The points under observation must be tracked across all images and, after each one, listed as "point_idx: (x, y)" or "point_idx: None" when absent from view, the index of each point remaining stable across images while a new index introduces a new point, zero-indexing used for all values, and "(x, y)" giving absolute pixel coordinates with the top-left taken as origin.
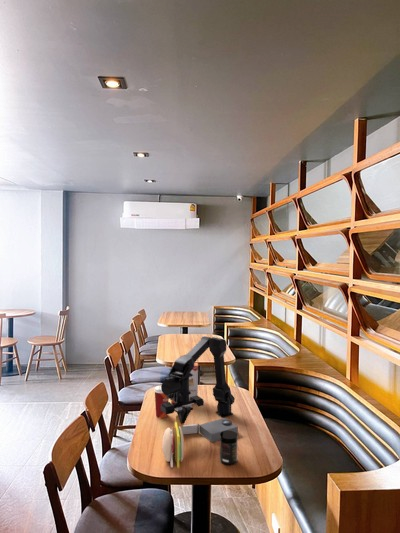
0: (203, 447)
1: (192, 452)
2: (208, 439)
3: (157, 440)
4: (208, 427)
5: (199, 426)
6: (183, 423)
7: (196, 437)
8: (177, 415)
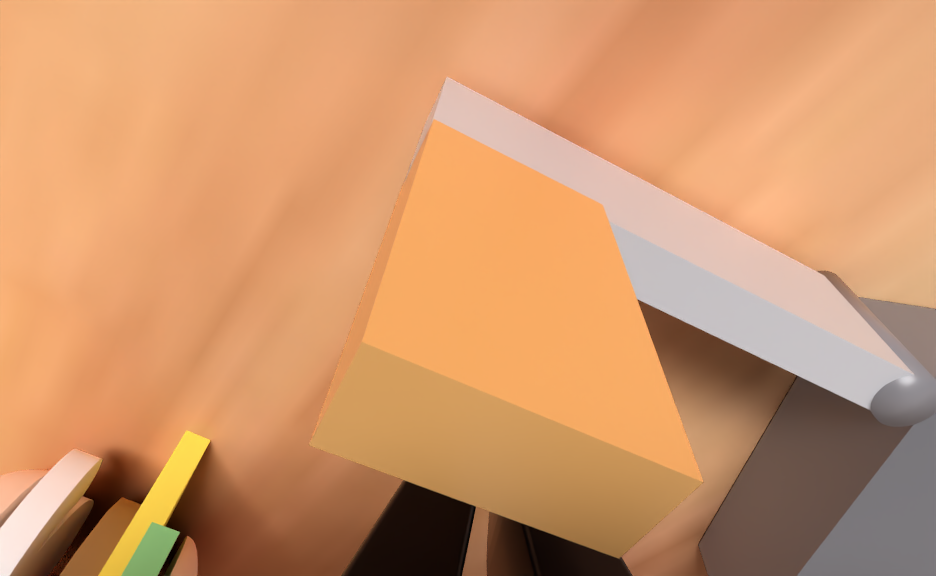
0: None
1: None
2: (726, 506)
3: (3, 26)
4: (923, 543)
5: None
6: None
7: (668, 372)
8: (389, 465)
